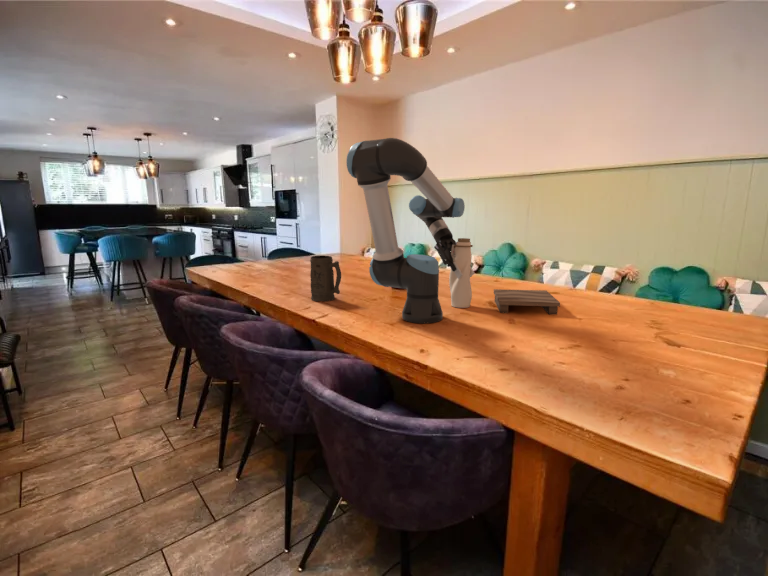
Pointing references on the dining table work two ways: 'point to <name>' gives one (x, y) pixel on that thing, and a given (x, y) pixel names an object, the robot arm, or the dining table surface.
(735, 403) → the dining table surface
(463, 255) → the water bottle
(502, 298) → the wooden riser
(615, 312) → the dining table surface
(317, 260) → the beer stein
